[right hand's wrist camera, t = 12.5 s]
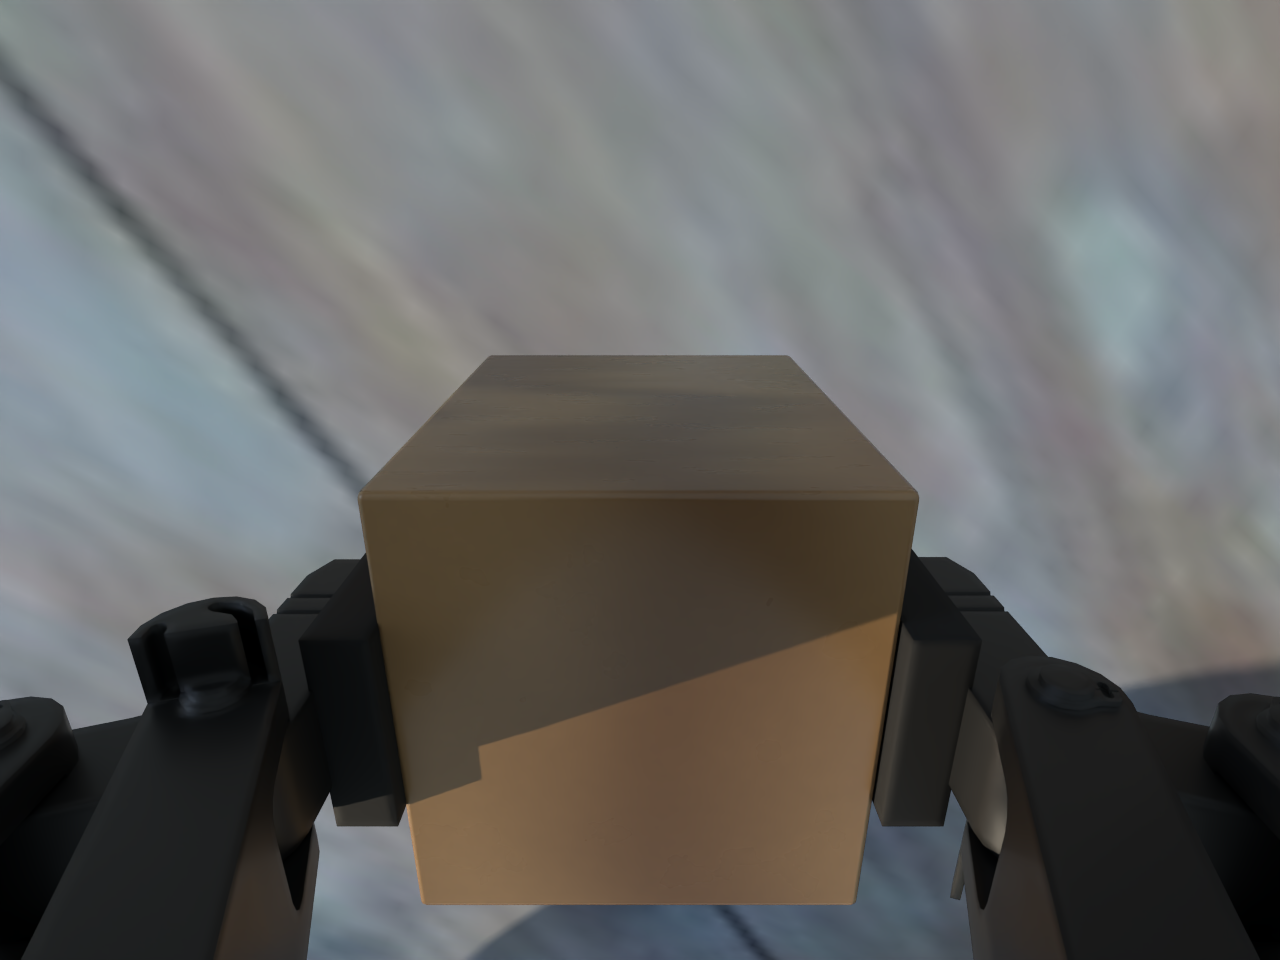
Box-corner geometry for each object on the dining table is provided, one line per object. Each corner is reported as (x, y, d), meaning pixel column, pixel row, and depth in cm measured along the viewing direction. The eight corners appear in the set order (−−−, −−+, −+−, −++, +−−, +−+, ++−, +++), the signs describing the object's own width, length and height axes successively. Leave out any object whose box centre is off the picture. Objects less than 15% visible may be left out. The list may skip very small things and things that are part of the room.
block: (509, 620, 16) (420, 908, 10) (487, 354, 14) (352, 493, 7) (769, 620, 16) (858, 907, 10) (790, 354, 14) (923, 492, 7)
